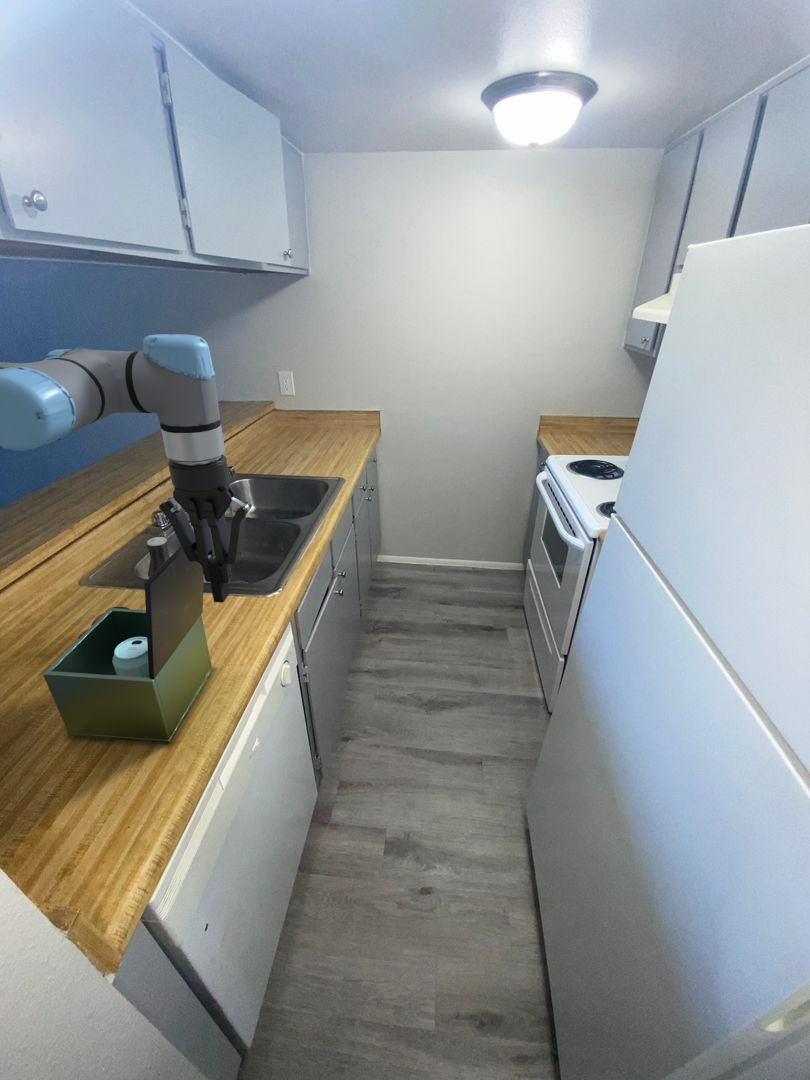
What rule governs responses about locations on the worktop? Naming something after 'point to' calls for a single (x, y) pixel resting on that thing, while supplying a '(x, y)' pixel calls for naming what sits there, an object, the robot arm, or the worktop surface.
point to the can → (132, 658)
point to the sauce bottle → (157, 553)
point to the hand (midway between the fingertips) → (222, 597)
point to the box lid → (171, 607)
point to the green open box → (126, 683)
